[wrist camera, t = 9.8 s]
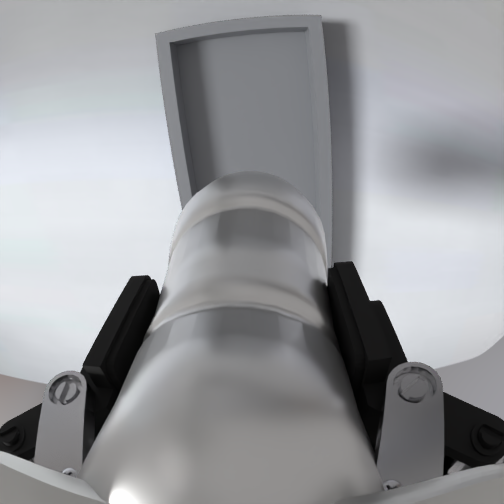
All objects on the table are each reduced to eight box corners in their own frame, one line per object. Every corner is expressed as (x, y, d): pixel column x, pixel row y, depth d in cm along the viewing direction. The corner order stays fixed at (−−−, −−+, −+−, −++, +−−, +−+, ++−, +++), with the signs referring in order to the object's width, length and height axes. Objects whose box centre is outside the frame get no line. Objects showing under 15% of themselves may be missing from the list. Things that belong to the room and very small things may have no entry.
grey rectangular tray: (165, 38, 20) (155, 33, 18) (315, 21, 20) (320, 15, 17) (206, 288, 32) (202, 304, 30) (325, 279, 31) (330, 295, 29)
